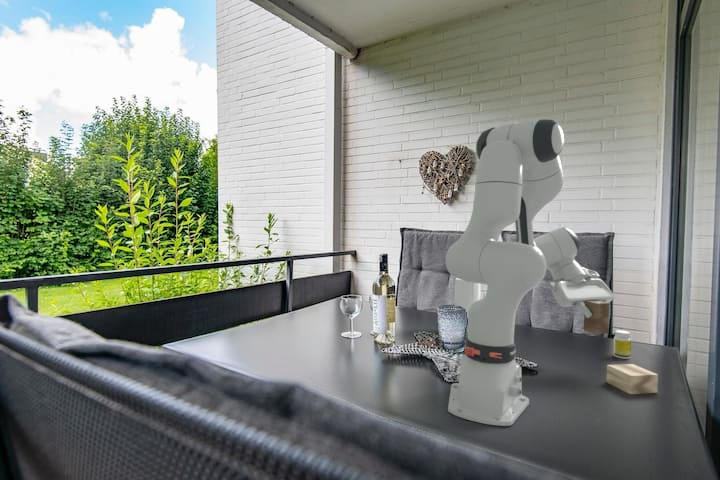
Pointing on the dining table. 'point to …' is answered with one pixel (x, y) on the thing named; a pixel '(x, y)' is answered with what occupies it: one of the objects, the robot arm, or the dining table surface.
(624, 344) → the supplement bottle
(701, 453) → the dining table surface
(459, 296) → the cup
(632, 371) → the oak block
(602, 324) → the walnut block
